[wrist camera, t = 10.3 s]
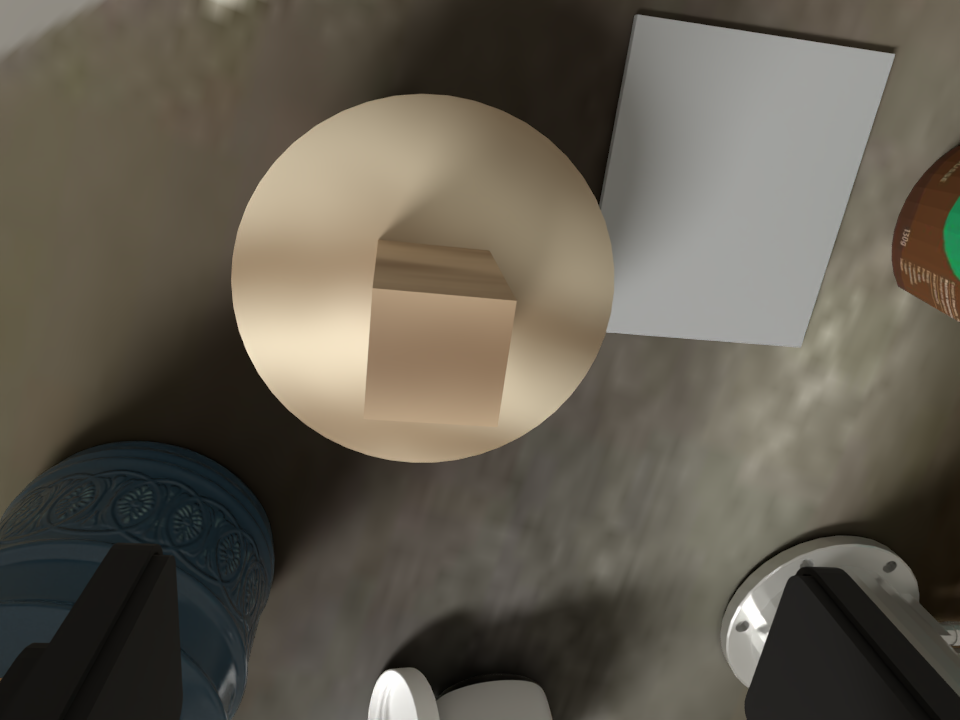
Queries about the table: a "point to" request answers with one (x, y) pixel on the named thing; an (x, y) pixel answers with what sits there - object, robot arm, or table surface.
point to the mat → (731, 178)
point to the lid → (422, 278)
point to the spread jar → (457, 698)
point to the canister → (150, 520)
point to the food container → (931, 237)
